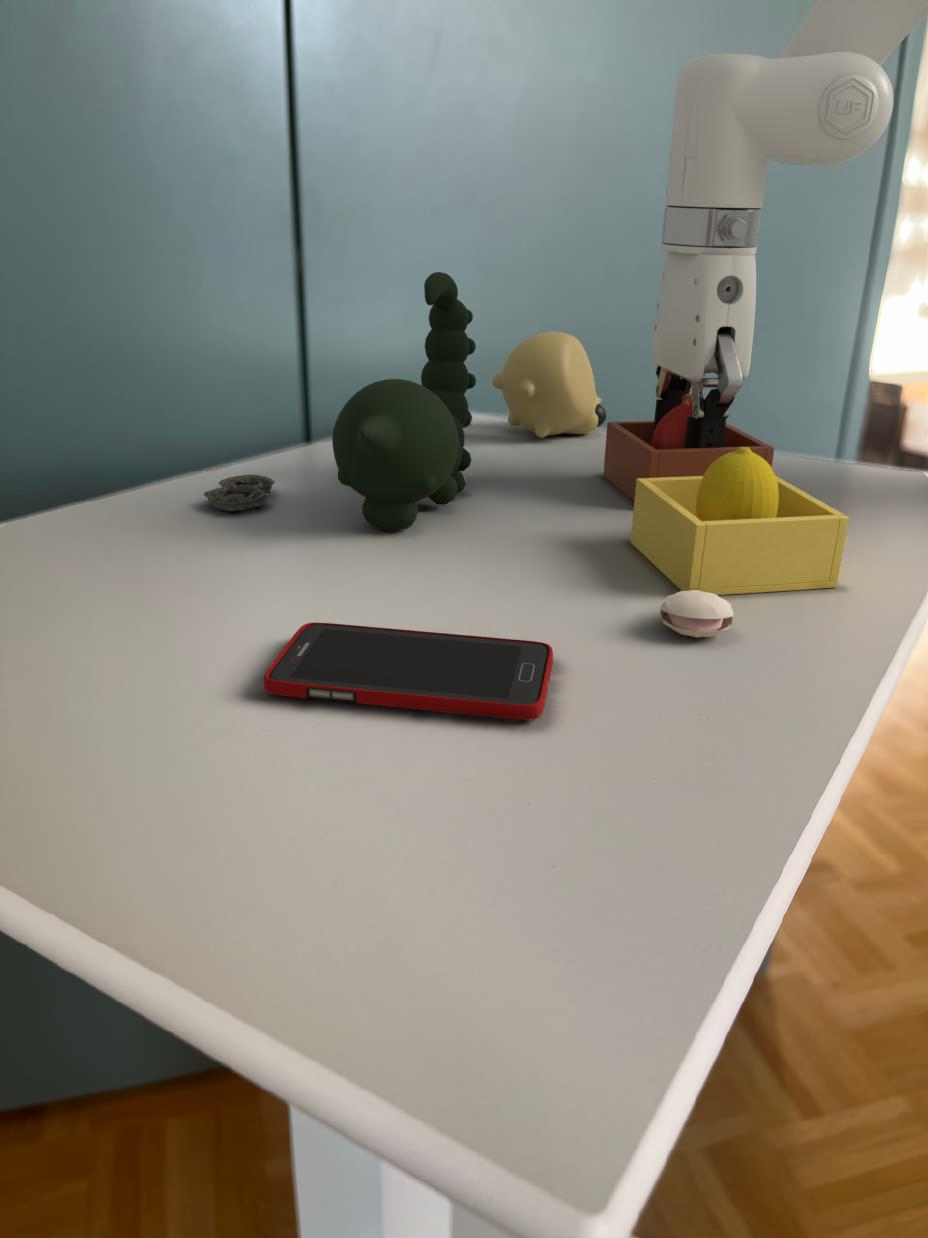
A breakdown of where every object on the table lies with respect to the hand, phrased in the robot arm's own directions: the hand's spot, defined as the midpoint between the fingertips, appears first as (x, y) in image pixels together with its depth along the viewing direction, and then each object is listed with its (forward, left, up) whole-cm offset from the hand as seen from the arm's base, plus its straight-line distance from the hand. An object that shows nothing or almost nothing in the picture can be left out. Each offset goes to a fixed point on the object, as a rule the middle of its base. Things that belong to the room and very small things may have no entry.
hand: (685, 451), depth 87 cm
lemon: (+4, +18, -3) cm, 19 cm away
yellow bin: (+4, +18, -3) cm, 19 cm away
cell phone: (+29, +32, -3) cm, 43 cm away
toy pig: (+6, -22, -4) cm, 23 cm away
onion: (0, 0, -3) cm, 3 cm away
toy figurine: (+24, +1, -4) cm, 24 cm away
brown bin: (0, 0, -3) cm, 3 cm away
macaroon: (+11, +28, -4) cm, 30 cm away
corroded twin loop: (+38, -2, -3) cm, 38 cm away
